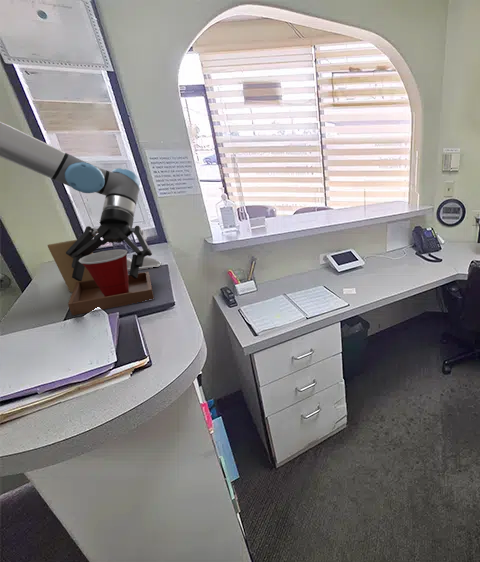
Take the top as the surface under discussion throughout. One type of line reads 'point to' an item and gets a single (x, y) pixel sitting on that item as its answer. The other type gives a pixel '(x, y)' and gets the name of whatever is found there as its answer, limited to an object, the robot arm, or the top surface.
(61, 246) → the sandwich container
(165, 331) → the top surface
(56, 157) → the robot arm
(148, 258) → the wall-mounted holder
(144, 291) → the tray
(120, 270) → the plastic cup
